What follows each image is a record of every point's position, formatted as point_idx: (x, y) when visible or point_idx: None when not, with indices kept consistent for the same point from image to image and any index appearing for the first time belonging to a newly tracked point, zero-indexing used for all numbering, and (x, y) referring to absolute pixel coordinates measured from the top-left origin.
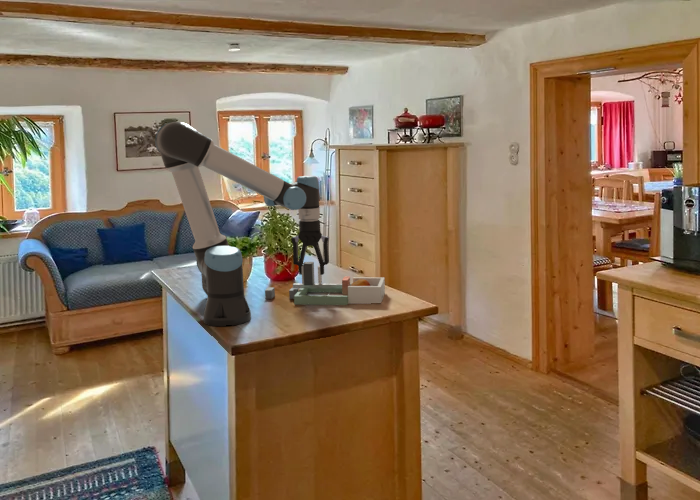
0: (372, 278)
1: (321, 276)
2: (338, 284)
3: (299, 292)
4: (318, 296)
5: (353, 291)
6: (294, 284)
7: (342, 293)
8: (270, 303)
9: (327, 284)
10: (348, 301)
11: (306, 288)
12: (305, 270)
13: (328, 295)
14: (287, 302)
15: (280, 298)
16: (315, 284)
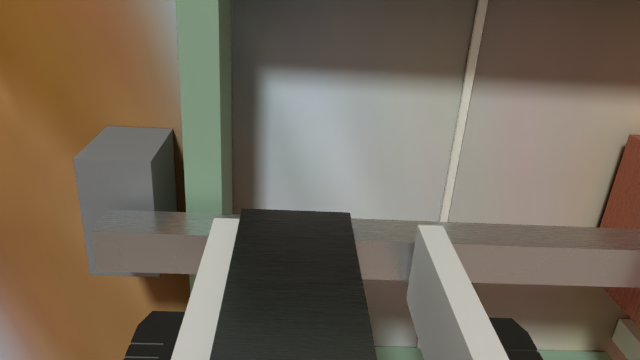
0: None
1: (462, 281)
2: (627, 278)
3: None
4: None
5: None
6: (118, 270)
7: (612, 295)
8: (6, 339)
9: (505, 276)
10: (621, 349)
11: (223, 35)
12: None
13: (465, 115)
14: (135, 315)
15: (23, 204)
16: (368, 275)
